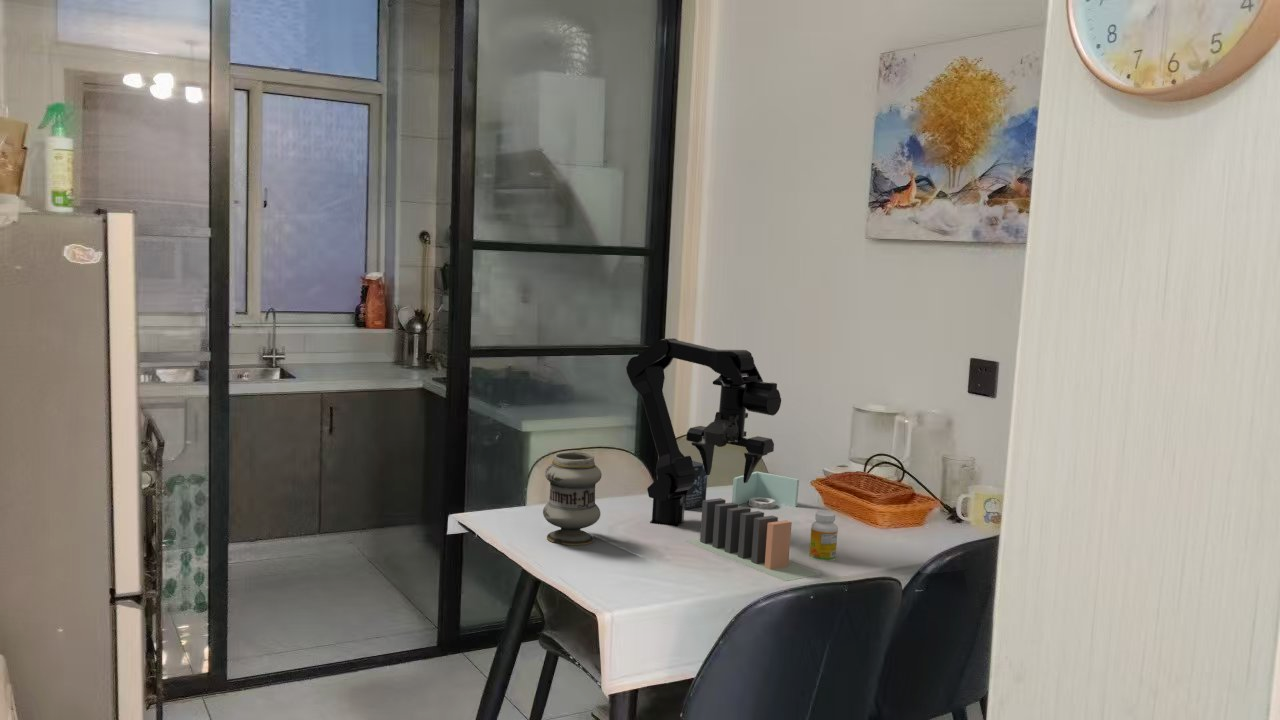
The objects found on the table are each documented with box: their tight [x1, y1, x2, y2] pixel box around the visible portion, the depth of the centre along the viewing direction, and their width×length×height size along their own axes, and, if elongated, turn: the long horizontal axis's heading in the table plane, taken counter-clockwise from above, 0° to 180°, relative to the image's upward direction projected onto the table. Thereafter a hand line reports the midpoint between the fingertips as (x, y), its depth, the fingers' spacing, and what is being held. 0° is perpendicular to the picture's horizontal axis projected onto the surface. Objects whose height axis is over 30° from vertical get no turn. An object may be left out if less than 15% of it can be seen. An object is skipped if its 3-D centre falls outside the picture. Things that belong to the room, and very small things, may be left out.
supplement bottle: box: [808, 510, 838, 562], centre depth 217 cm, size 5×5×10 cm
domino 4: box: [738, 510, 765, 559], centre depth 214 cm, size 2×5×9 cm, turn 126°
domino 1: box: [699, 497, 726, 544], centre depth 224 cm, size 2×5×9 cm, turn 126°
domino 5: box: [751, 515, 779, 564], centre depth 211 cm, size 2×5×9 cm, turn 126°
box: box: [682, 460, 708, 511], centre depth 257 cm, size 8×6×11 cm
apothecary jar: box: [542, 451, 602, 546], centre depth 221 cm, size 12×12×18 cm
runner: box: [685, 538, 822, 582], centre depth 214 cm, size 30×10×1 cm, turn 36°
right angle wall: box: [731, 471, 800, 510], centre depth 262 cm, size 12×12×8 cm
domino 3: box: [725, 506, 752, 554], centre depth 217 cm, size 2×5×9 cm, turn 126°
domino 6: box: [765, 519, 793, 570], centre depth 208 cm, size 2×5×9 cm, turn 126°
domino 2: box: [712, 501, 739, 549], centre depth 221 cm, size 2×5×9 cm, turn 127°
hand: (726, 478), depth 228 cm, fingers open, 9 cm apart
